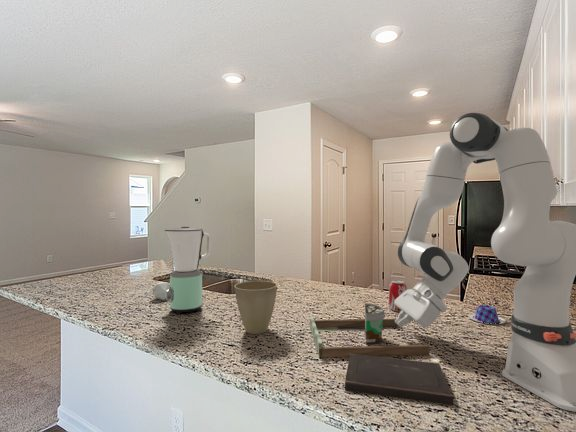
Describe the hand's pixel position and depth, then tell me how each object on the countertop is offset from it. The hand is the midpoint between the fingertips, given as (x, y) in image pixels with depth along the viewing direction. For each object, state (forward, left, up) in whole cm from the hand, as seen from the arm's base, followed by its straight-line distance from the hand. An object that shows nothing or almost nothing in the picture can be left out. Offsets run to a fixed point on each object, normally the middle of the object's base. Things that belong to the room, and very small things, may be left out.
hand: (397, 324), depth 106 cm
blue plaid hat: (+16, -41, -5) cm, 44 cm away
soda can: (+30, -12, -5) cm, 32 cm away
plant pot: (+10, +46, -5) cm, 48 cm away
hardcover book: (-25, +10, -5) cm, 28 cm away
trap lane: (0, +11, -4) cm, 12 cm away
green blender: (+35, +76, -5) cm, 84 cm away
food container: (0, +7, -5) cm, 9 cm away
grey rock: (+53, +93, -5) cm, 107 cm away
